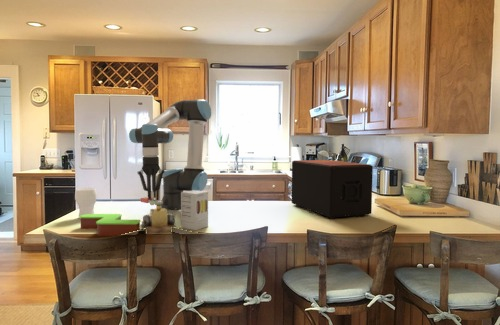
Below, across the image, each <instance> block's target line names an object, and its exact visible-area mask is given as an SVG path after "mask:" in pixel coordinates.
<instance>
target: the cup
mask: <svg viewBox="0 0 500 325" xmlns="http://www.w3.org/2000/svg"><path fill="white" fill-rule="evenodd" d="M97 198H98V192H97V188H95V187H81V188H76V189H75V192H74V200H75V202H76V204H77V206H78V210H79V212H78V219H79V220H80V216H82V215H84V214H95V210H94V209H95V204H96V203H97Z"/></svg>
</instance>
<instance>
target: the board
mask: <svg viewBox="0 0 500 325" xmlns="http://www.w3.org/2000/svg"><path fill="white" fill-rule="evenodd" d="M141 225H142V229H143V228H146V229H147V235H155V234H154V233H159V234H167V233H169V232H170V233H172V232H171V227H177V226H176V223H174V224H171V225H169V224H167V226H156V227H152V226H146V227H145V226H143V220H141ZM170 233H169V234H170Z"/></svg>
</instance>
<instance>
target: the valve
mask: <svg viewBox="0 0 500 325" xmlns="http://www.w3.org/2000/svg"><path fill="white" fill-rule="evenodd" d="M155 206H156V208H150V211H149V212H150V215H145V214H144V215H143V216H142V221H143V226H145V227H146V226H152V227H156V226H167V224H169V225H171V224H176V223H175V222H176V220H175V219H176V216H175V214H174V213H168V209H166V208H161V205H155ZM143 226H142V227H143Z"/></svg>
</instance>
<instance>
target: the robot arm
mask: <svg viewBox="0 0 500 325" xmlns="http://www.w3.org/2000/svg"><path fill="white" fill-rule="evenodd" d="M211 118H212V109H211V105H210V102H208V101H207V99H200V98H199V99H187V100H186V99H185V100H184V99H183V100H179V101H176V102H174V103H172V104H171V105H169V106H167V107H166V109H164V111H163V112H162V113H160V114H159V115H157V116H156V117H155V118H153V119H152V120H149V121H148V122H147V123H144V124H142V125H141V126H140V127H139V128H138V127H137V128H132V129H131V130H129V132H128V138H129V141H130V142H132V143H134V144H142V148H141V150H142V166H141V169H140V170H138V171H137V175H138V176H139V178H140V179H139V180H140V181H141V186H142V189H143V191H145V192H147V198H152V199H153V200H155V199H156V198H157V191H159V190H160V189H161V184H163V186H162V187H163V190H162V192H163V195H162V198H161V200H162V201H163V204H162V205H161V208H166V210H173V211H174V210H181V192H187V191H193V190H197V191H204V189H205V188H206V187H207V184H208V179H209V178H208V173H207V172H206V171H205V168H204V167H203V152H204V150H203V149H204V136H205V135H204V132H205V126H206V125H207V123H208V121H209V120H210V119H211ZM184 120H185V121H186V122H187V123H188V126H189V128H188V141H187V142H188V144H187V160H186V163H187V164H186V166H185V167H183V168H174V169H166V170H163V169H162V168H161V167H160V161H159V160H160V158H159V154H160V152H159V150H160V149H159V144H169V143H171V142H172V141H173V139H174V132H173V131H172V130H171V129H169V128H167V127H168V126H169V125H171V124H172V123H176V122H178V121H184ZM144 174H145V175H146V181H145V178H144V177H145V176H144ZM157 174H158V176H157ZM149 205H151V206H155V204H153V203H149Z"/></svg>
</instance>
